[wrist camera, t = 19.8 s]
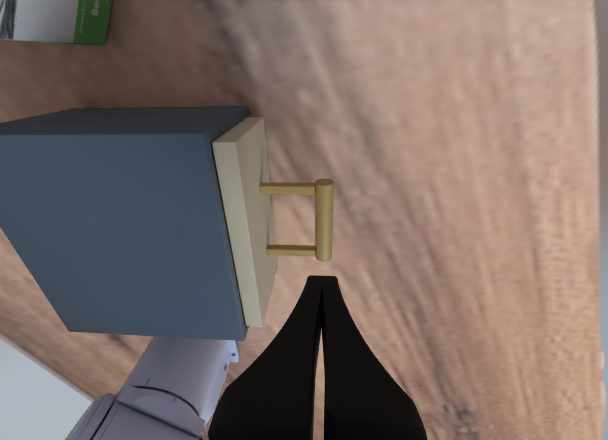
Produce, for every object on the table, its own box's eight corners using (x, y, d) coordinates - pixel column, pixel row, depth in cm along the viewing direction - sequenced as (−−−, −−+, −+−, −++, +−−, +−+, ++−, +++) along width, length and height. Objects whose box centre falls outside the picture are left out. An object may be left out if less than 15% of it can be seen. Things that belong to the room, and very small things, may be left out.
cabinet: (248, 105, 20) (203, 133, 13) (267, 266, 27) (244, 341, 20) (72, 108, 21) (-61, 135, 14) (135, 261, 28) (68, 331, 21)
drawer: (334, 116, 19) (336, 141, 13) (330, 268, 25) (330, 330, 20) (94, 118, 20) (1, 142, 14) (148, 262, 27) (99, 318, 21)
